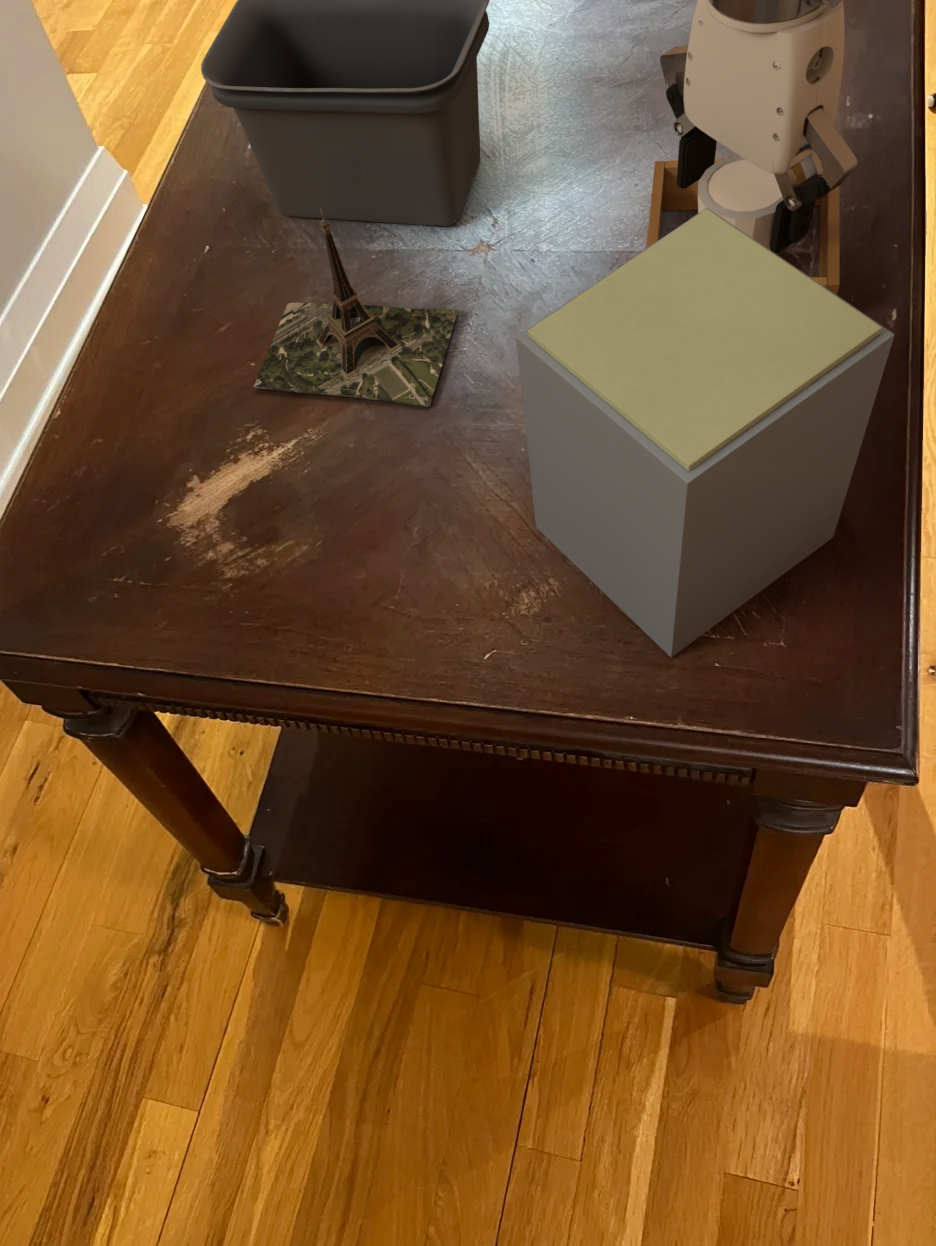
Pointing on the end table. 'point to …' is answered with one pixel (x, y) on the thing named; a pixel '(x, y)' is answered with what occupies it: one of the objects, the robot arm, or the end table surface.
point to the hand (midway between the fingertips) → (740, 209)
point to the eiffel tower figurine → (357, 346)
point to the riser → (691, 491)
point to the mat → (702, 337)
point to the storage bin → (356, 103)
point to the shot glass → (741, 196)
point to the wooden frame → (677, 198)
